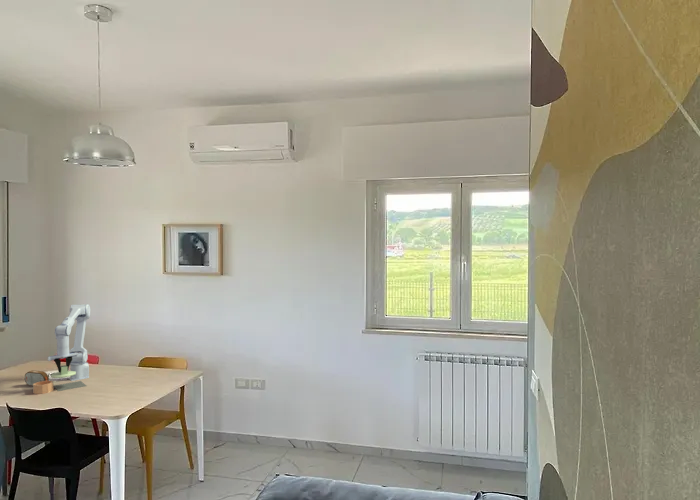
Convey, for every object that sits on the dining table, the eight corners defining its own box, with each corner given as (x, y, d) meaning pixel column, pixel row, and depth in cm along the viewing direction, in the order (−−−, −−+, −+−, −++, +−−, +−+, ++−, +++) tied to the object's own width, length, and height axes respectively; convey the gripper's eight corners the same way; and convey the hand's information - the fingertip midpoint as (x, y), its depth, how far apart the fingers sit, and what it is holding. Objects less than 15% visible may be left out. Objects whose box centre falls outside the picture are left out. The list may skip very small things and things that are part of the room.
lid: (73, 371, 274) (72, 362, 274) (78, 375, 265) (78, 366, 265) (48, 375, 266) (48, 366, 266) (53, 379, 257) (53, 370, 257)
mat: (80, 381, 278) (80, 380, 278) (86, 386, 268) (86, 385, 268) (52, 386, 269) (52, 385, 269) (58, 391, 258) (58, 391, 258)
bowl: (51, 388, 264) (51, 379, 264) (54, 392, 258) (54, 383, 258) (32, 392, 258) (31, 382, 258) (34, 395, 252) (34, 386, 252)
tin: (49, 386, 270) (49, 371, 270) (44, 387, 267) (44, 372, 267) (28, 384, 274) (28, 369, 274) (23, 385, 271) (23, 371, 271)
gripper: (49, 349, 258) (49, 375, 258) (79, 346, 267) (79, 370, 267) (46, 348, 263) (47, 372, 263) (76, 344, 273) (76, 368, 273)
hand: (63, 371), depth 266 cm, fingers closed on lid, 3 cm apart
